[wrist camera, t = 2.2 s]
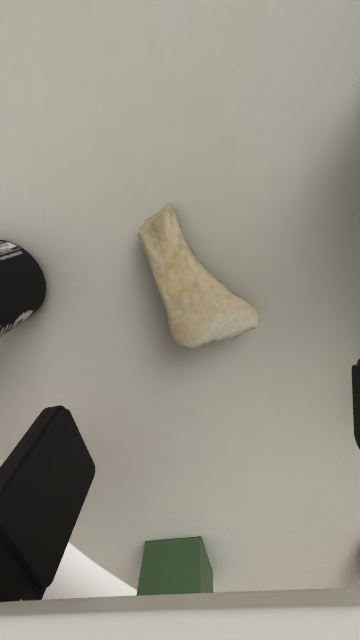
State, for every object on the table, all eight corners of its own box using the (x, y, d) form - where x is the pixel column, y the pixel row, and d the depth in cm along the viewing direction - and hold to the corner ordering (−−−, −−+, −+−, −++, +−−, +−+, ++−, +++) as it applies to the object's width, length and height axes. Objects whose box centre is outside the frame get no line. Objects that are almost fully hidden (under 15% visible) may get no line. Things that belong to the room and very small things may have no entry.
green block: (160, 575, 40) (153, 636, 35) (145, 541, 38) (135, 601, 32) (212, 571, 39) (214, 634, 34) (200, 536, 37) (200, 597, 31)
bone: (260, 311, 25) (272, 337, 21) (201, 352, 27) (200, 384, 23) (169, 199, 22) (160, 202, 18) (111, 255, 24) (89, 270, 20)
